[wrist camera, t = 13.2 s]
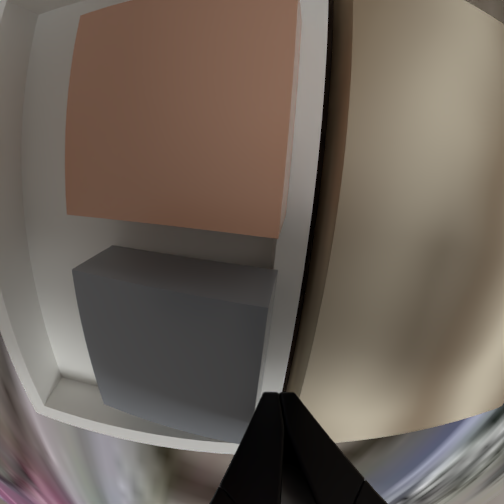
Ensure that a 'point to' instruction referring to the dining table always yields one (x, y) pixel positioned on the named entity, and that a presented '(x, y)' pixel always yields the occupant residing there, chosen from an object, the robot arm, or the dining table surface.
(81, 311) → the slate tile
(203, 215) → the terracotta tile
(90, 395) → the tray
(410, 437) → the dining table surface
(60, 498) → the dining table surface
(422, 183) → the birch board
